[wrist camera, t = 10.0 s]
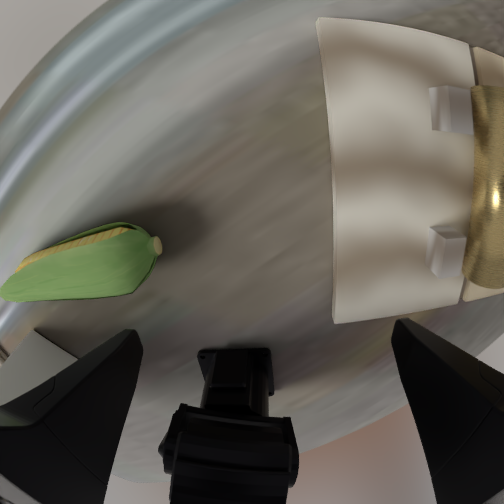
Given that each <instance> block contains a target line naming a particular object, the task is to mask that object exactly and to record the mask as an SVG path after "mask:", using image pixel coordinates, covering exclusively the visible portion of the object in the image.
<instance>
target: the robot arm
mask: <svg viewBox="0 0 504 504" xmlns="http://www.w3.org/2000/svg"><path fill="white" fill-rule="evenodd" d="M391 343H392V347H393V351H394V355H395V359H396V363H397V367H398V371H399V375H400V379H401V382H402V385H403V387H404V390H405V393H406V396H407V399H408V402H409V405H410V407H411V411H412V414H413V416H414V419H415V423H416V426H417V429H418V432H419V436H420V439H421V442H422V446H423V449H424V453H425V456H426V460H427V463H428V467H429V471H430V475H431V480H432V484H433V488H434V492H435V497H436V501H437V504H504V374H503V373H501V372H499V371H497V370H495V369H493V368H492V367H490V366H488V365H486V364H485V363H483V362H482V361H478V359H477V358H475V357H473V356H472V355H470V354H468V353H467V352H465V351H463V350H462V349H460V348H458V347H457V346H455V345H453V344H451V343H450V342H448V341H446V340H445V339H443V338H441V337H440V336H438V335H436V334H435V333H433V332H431V331H429V330H428V329H426V328H424V327H423V326H421V325H419V324H417V323H416V322H414V321H412V320H411V319H409V318H401V319H397V320H396V322H395V325H394V329H393V333H392V337H391ZM263 353H267V354H263ZM202 355H204V356H202ZM142 356H143V347H142V344H141V341H140V338H139V335H138V333H137V331H136V330H134V329H125V330H123V331H122V332H120V333H118V334H117V335H115V336H114V337H112V338H111V339H109V340H108V341H106V342H105V343H103V344H102V345H100V346H98V347H97V348H95V349H94V350H92V351H91V352H89V353H88V354H86V355H85V356H83V357H82V358H80V359H79V360H77V361H75V362H74V363H72V364H71V365H69V366H68V367H66V368H65V369H63V370H62V371H60V372H59V373H57V374H56V375H54V376H52V377H51V378H49V379H48V380H46V381H45V382H43V383H42V384H40V385H38V386H37V387H35V388H33V389H31V390H30V391H28V392H26V393H24V394H22V395H20V396H19V397H17V398H15V399H13V400H11V401H9V402H7V403H6V404H3V405H1V406H0V504H103V503H104V498H105V494H106V490H107V485H108V481H109V477H110V473H111V470H112V466H113V462H114V458H115V455H116V451H117V448H118V444H119V440H120V437H121V434H122V430H123V427H124V423H125V420H126V417H127V414H128V410H129V407H130V404H131V401H132V398H133V395H134V391H135V388H136V384H137V379H138V374H139V369H140V365H141V360H142ZM197 358H198V361H199V364H200V367H201V371H202V374H203V377H204V380H205V385H204V390H203V395H202V400H201V404H200V408H198V407H193V406H188V404H183V403H181V404H180V406H179V409H178V410H176V412H175V413H174V414H173V416H172V420H171V423H170V427H169V429H168V432H167V433H166V435H165V437H164V438H163V440H162V442H161V443H160V445H159V448H158V452H159V454H160V455H161V456H162V458H163V464H164V472H165V473H166V474H171V475H172V476H171V486H170V494H169V500H170V504H286V499H287V493H288V488H291V487H293V485H294V484H295V482H296V478H297V475H298V469H299V452H298V447H297V443H296V438H295V434H294V430H293V426H292V422H291V418H290V417H283V418H280V417H269V408H268V396H273V395H274V382H273V371H272V361H271V351H270V350H269V349H268V348H254V349H233V350H201V351H199V352H198V355H197Z"/></svg>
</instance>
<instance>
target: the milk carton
mask: <svg viewBox="0 0 504 504" xmlns="http://www.w3.org/2000/svg"><path fill="white" fill-rule="evenodd" d="M77 360H78V359H77V358H75V357H74V356H72V355H70V354H69V353H67V352H65V351H64V350H62V349H61V348H59V347H58V346H56V345H55V344H53V343H52V342H50V341H48V340H47V339H46V338H44V337H43V336H41V335H40V334H38V333H37V332H35V331H34V330H31V331H30V332H29V333H28V334H27V336H26V337H25V338H24V339H23V340H22V341H21V343H20V344H19V345H18V346H17V347H16V349H15V350H14V351H13V352H12V353H11V355H10V356H9V357H8V358H7V360H6V361H5V362H4V363H3V365H2V366H1V367H0V406H1V405H3V404H6V403H7V402H9V401H11V400H13V399H15V398H17V397H19V396H20V395H22V394H24V393H26V392H28V391H30V390H31V389H33V388H35V387H37V386H38V385H40V384H42V383H43V382H45V381H46V380H48V379H49V378H51V377H52V376H54V375H56V374H57V373H59V372H60V371H62V370H63V369H65V368H66V367H68V366H69V365H71V364H72V363H74V362H75V361H77Z"/></svg>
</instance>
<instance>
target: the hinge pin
mask: <svg viewBox="0 0 504 504" xmlns="http://www.w3.org/2000/svg"><path fill="white" fill-rule="evenodd" d="M471 97H472V108H473V124H474V176H473V192H472V204H471V214H470V222H469V229H468V236H467V242H466V248H465V254H464V259H463V264H462V273H463V275H464V276H465V277H466V278H467V279H468V280H469V281H471V282H472V283H474V284H476V285H478V286H481V287H484V288H488V289H501V288H504V88H503V87H497V86H488V85H477V86H472V87H471Z"/></svg>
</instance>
